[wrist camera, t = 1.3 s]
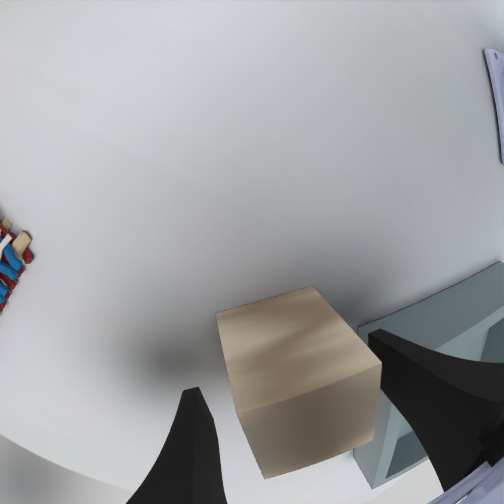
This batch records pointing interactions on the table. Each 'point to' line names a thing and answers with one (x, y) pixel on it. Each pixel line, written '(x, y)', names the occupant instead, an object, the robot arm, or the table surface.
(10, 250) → the woven mat
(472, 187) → the table surface
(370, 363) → the block
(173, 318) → the table surface
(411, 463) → the bin
